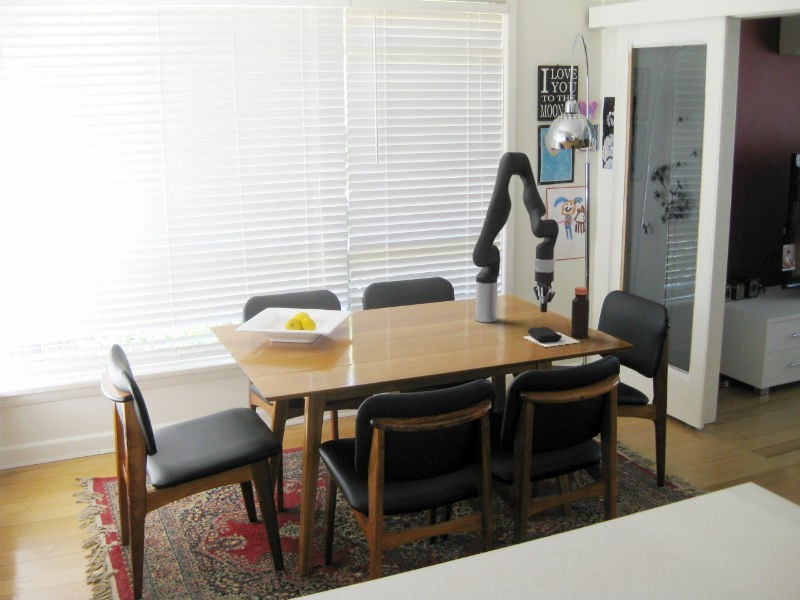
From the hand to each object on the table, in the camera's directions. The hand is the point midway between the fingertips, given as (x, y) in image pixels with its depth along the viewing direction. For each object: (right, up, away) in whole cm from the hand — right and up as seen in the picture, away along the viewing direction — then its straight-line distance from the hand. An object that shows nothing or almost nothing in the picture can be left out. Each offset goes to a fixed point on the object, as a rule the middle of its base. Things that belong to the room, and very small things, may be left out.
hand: (543, 311), depth 339 cm
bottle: (+15, -10, +1) cm, 18 cm away
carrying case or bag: (-1, -7, +4) cm, 9 cm away
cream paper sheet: (+3, -11, -4) cm, 12 cm away
